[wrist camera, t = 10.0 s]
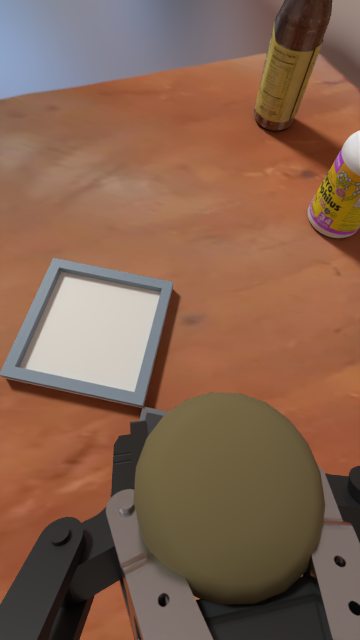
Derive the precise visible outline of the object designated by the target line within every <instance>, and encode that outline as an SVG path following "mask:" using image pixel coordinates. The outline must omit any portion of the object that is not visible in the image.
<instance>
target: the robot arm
mask: <svg viewBox="0 0 360 640" xmlns="http://www.w3.org/2000/svg"><path fill="white" fill-rule="evenodd" d="M130 429H131V434H129V435H122V436H119V437H118V439H117V441H116V442H115V444H114V454H113V455H114V457H113V473H112V492H111V498H110V500H109V502H108V503H107V506H106V507H105V509H104V510H103V511H102V512H100V513H99V514H98V515H96V516H94V517H93V518H90V519H88V520H86V521H84V522H82V523H81V522H80V521H79V520H77V519H75V518H72V517H65V518H61V519H58V520H56V521H54V522H52V523H51V524H50V525H48V526H47V527H46V528H45V529H44V530H43V532H42V533H41V535H40V536H39V538H38V540H37V542H36V543H35V545H34V547H33V549H32V550H31V552H30V554H29V556H28V557H27V559H26V561H25V563H24V564H23V566H22V568H21V570H20V571H19V573H18V575H17V577H16V578H15V580H14V582H13V584H12V585H11V587H10V589H9V591H8V592H7V594H6V596H5V598H4V599H3V601H2V603H1V604H0V640H79V639H80V636H81V633H82V630H83V628H84V625H85V622H86V619H87V616H88V613H89V610H90V607H91V604H92V602H93V599H94V595H95V594H97V593H98V592H100V591H102V590H103V589H105V588H107V587H108V586H110V585H112V584H114V583H115V582H117V581H119V582H120V586H121V590H122V594H123V597H124V601H125V605H126V609H127V612H128V616H129V620H130V624H131V628H132V632H133V636H134V640H360V466H357V467H354V468H352V469H351V471H350V473H349V476H339V475H330V474H326V473H324V472H323V470H322V469H321V468H320V467H319V466H318V468H319V470H320V473H321V479H322V486H323V492H324V499H325V513H324V521H323V528H322V533H321V538H320V540H319V541H318V543H317V545H316V547H315V549H314V550H313V552H312V554H311V558H310V563H309V567H308V570H307V571H306V572H305V573H304V574H303V575H302V576H301V577H300V578H299V579H298V580H297V581H296V582H295V583H294V584H293V585H292V586H290V587H289V588H288V589H287V590H286V591H285V592H283V593H280V594H278V595H275V596H273V597H271V598H268V599H266V600H263V601H261V602H258V603H256V604H232V605H221V604H217V603H213V602H210V601H206V600H204V599H199V600H195V598H194V596H193V593H192V591H191V589H190V587H189V585H188V582H187V580H186V578H185V577H183V576H181V575H180V574H178V573H176V572H175V571H173V570H171V569H169V568H168V567H166V566H165V565H164V564H163V563H162V562H161V561H160V560H159V559H158V558H156V556H155V555H154V554H153V553H150V551H149V550H148V548H147V546H146V544H145V542H144V540H143V539H142V537H141V534H140V529H139V524H138V520H137V515H136V510H135V505H134V487H135V473H136V466H137V463H138V460H139V458H140V455H141V452H142V450H143V447H144V444H145V442H146V439H147V437H148V428H147V420H142V421H135V422H130Z"/></svg>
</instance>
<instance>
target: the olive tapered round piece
mask: <svg viewBox="0 0 360 640" xmlns="http://www.w3.org/2000/svg"><path fill="white" fill-rule="evenodd" d="M134 505H135V510H136V515H137V520H138V524H139V529H140V534H141V537H142V539H143V540H144V542H145V544H146V546H147V548H148V550H149V551H150V553H153V554H154V555H155V556H156V558H158V559H159V560H160V561H161V562H162V563H163V564H164V565H165V566H166V567H168V568H169V569H171V570H173V571H175V572H176V573H178V574H180V575H181V576H183V577H185V578H186V580H187V582H188V585H189V587H190V589H191V591H192V593H193V596H196V597H198V598H200V599H204V600H206V601H210V602H213V603H217V604H221V605H232V604H256V603H258V602H261V601H263V600H266V599H268V598H271V597H273V596H275V595H278V594H280V593H283V592H285V591H286V590H287V589H288V588H289V587H290V586H292V585H293V584H294V583H295V582H296V581H297V580H298V579H299V578H300V577H301V576H302V575H303V574H304V573H305V572H306V571H307V570H308V567H309V563H310V558H311V554H312V552H313V550H314V549H315V547H316V545H317V543H318V541H319V540H320V538H321V533H322V528H323V521H324V513H325V499H324V492H323V486H322V479H321V473H320V470H319V468H318V465H317V463H316V461H315V459H314V456H313V454H312V452H311V449H310V447H309V445H308V443H307V441H306V440H305V439H304V438H303V436H302V435H301V434H300V433H299V431H298V430H297V429H296V428H295V426H294V425H293V424H292V423H291V421H290V420H289V419H288V418H286V417H285V416H284V415H282V414H281V413H280V412H278V411H277V410H276V409H274V408H273V407H271V406H270V405H269V404H267V403H266V402H263V401H260V400H257V399H255V398H252V397H249V396H246V395H243V394H240V393H214V392H211V393H208V394H204V395H201V396H197V397H194V398H190V399H187V400H185V401H184V402H182V403H181V404H180V405H178V406H177V407H175V408H174V409H172V410H171V411H169V412H168V413H167V414H165V415H164V416H163V417H162V419H161V420H160V421H159V423H158V424H157V425H156V427H155V428H154V429H153V431H152V432H151V433H150V434H149V436H148V437H147V439H146V442H145V444H144V447H143V450H142V452H141V455H140V458H139V460H138V463H137V466H136V473H135V487H134Z"/></svg>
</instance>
